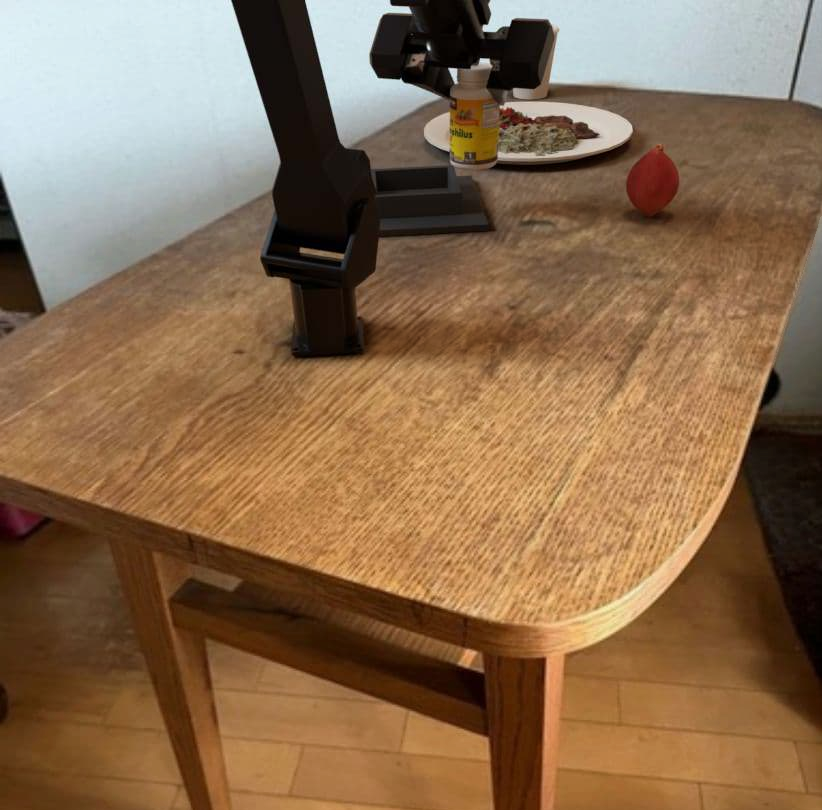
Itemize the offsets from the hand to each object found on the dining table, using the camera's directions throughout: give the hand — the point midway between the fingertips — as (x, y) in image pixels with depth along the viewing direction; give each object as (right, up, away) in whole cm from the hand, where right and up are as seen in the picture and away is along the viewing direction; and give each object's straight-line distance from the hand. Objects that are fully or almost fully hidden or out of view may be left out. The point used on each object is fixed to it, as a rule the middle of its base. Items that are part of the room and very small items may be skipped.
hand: (479, 99), depth 96 cm
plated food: (+9, +9, +30) cm, 32 cm away
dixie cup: (+13, +27, +51) cm, 58 cm away
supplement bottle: (0, -6, +3) cm, 7 cm away
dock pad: (-7, -9, +9) cm, 14 cm away
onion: (+20, -12, +5) cm, 24 cm away
